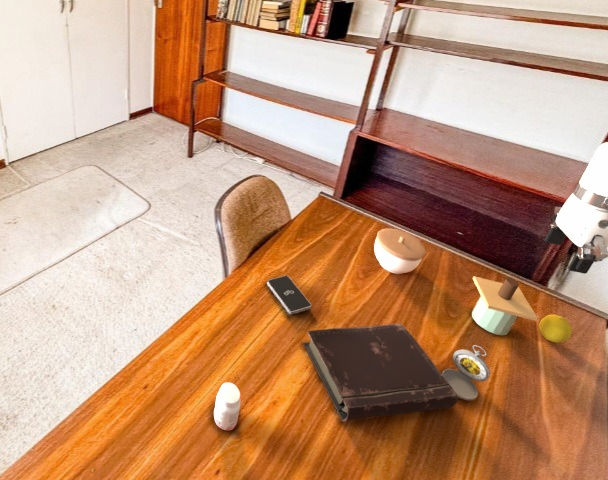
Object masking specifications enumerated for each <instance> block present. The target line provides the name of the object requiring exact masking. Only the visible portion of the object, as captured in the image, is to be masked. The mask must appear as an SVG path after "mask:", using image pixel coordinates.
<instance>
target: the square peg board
mask: <svg viewBox="0 0 608 480" xmlns="http://www.w3.org/2000/svg"><path fill="white" fill-rule="evenodd" d="M472 281H473V282H474V285H475V287H476V288H477V291H478V293H479V296H481V297H482V299H483V301H484V303H485V305H486V307H487V308H488V309H492V310H496V311H500V312H504V313H507V314H511V315H515V316H519V317H520V318H523V319H527V320H531V321H534V322H537V321H538V318H539V317H538V316H537V314H536V312H535V311H534V310H533V308H532V306H531V305H530V303H529V301H528V300H527V298H526V296H525V295H524V294H523V292H522V290H521V289H520V287H519V286H520V283H519V281H517V280H516V279H514V278H512V277H506V278H505V280H504V281H503V282H500V281H496V280H491V279H487V278H483V277H480V276H479V277H478V276H475V275H474V276H472ZM519 317H518V318H519Z"/></svg>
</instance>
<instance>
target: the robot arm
mask: <svg viewBox="0 0 608 480" xmlns="http://www.w3.org/2000/svg"><path fill="white" fill-rule="evenodd" d="M553 212H554V214H553V215H552V222H551V223H550V229H549V231H548V232H547V235H546V237H545V238H544V241H545V243H547V244H552V245H558V246H562V245H563V243H564V241H565V239H566V238H568V239H569V240H570V241H571V242H572V243H573V244H574V245H576V246H577V254H578V255H577V254H576V255H574V256H573V258H572V260H571V262H570V263H569V265H568V267H567V269H568V271H570V272H574V273H580V274H587V273H589V270H590V269H591V268H592V266H593V264H594V263H598V262H602V261H603V260H605V259H607V258H608V141H605V142H604V143H601V144H600V145H599V146H598V147H597V149H596V151H595V152H594V154H593V156H592V158H591V160H590V162H589V163H588V165H587V167H586V169H585V170H584V172H583V174H582V176H581V177H580V180H579V181H578V183H577V185H576V187H575V189H574V191H573V192H572V193H571V195H570V196H569V197H568V198H567V199H566V201H565V202H564V204H563V205H562V207H561V206H555V207H554V211H553ZM588 244H590V245H588ZM586 250H590V253H586Z"/></svg>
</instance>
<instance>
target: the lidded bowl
mask: <svg viewBox="0 0 608 480" xmlns="http://www.w3.org/2000/svg"><path fill="white" fill-rule="evenodd" d="M373 250H374V255H375V258H376V260H377V261H378V263H379V265H380V266H381V267H382V268H383V269H384V270H386V271H387V272H389V273H392V274H396V275H401V274H406V273H410V272H412V271H414V270H415V269H416V268H418V266H419V265H420V263H421V262H422V260H423V258H424V257H425V255H426V248H425V246H424V244H423V243H422V242H421V241H420V240H419V239H418V238H417V237H415V236H414V235H412V234H411V233H409V232H406V231H403V230H401V229H397V228H391V227H388V228H387V227H386V228H382V229H379V231H378V232H377V235H376V237H375V241H374V248H373Z"/></svg>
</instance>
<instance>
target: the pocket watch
mask: <svg viewBox="0 0 608 480" xmlns="http://www.w3.org/2000/svg"><path fill="white" fill-rule="evenodd" d="M475 347H477V348H480V349H481V350H482V351H483V352H484V354H482V353H481V350H476V349H475ZM472 350H473V351H474V352H473V351H471V350H468V349H458V350H456V351H454V353H453V354H452V362H453V364H454V366H455V367H456V368H457V370H456V369H453V368H445V369H444V370H442V372H441V374H442V375H443V377H444V378H445V379H446V380H447V382H448V383H449V384H450V386H451V387H452V388H453V389H454V391H455V392H456V393H457V394H458V399H462V400H465V401H474V400H476V399H477V398H478V396H479V391H478V388H477V386H476V384H475V382H481V383H482V382H486V381H487V380H489V378H490V375H491V372H490V371H491V370H490V367H489V365H488V363H487V362H486V361H485V360H484V359H483V358H482V357H486V356H488V353H487V351H486V350H485V349H484V348H483V347H481V345H480V346H479V345H477V344H473V345H472ZM481 356H482V357H481ZM472 380H473V381H472ZM474 381H475V382H474Z"/></svg>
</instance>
